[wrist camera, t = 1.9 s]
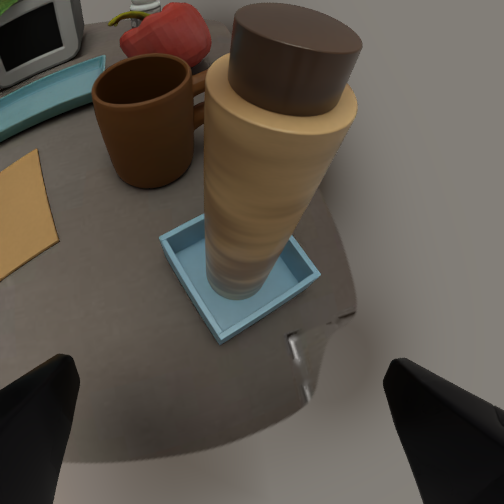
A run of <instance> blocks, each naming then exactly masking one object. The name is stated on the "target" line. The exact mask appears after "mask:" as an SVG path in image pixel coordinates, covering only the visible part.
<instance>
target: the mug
mask: <svg viewBox="0 0 504 504" xmlns="http://www.w3.org/2000/svg"><path fill="white" fill-rule="evenodd" d="M207 71H208V70H205V71H203V72H200V73H198V74H196V75H192V72H191V68H190V66H189V65H188V64H187V63H186V62H185V61H184V60H183V59H181V58H179V57H177V56H174V55H170V54H163V53H150V54H142V55H137V56H133V57H130V58H127V59H124V60H122V61H119V62H117V63H115V64H114V65H112V66H110V67H109V68H107V69H106V70H105V71H103V72H102V73H101V74H100V75H99V76H98V77H97V79H96V80H95V82H94V84H93V86H92V91H91V95H92V100H93V105H94V110H95V115H96V118H97V121H98V124H99V127H100V130H101V133H102V136H103V139H104V142H105V145H106V148H107V150H108V153H109V155H110V158H111V161H112V163H113V166H114V168H115V170H116V172H117V174H118V175H119V176H120V178H121V179H122V180H123V181H125V182H126V183H128V184H130V185H132V186H135V187H140V188H156V187H160V186H164V185H166V184H169V183H171V182H173V181H174V180H176V179H177V178H179V177H180V176H181V175H182V174H183V173H184V172H185V171H186V170H187V168H188V167H189V165H190V163H191V161H192V158H193V153H194V130H195V129H197V128H198V127H199V126H201V125H202V124H204V106H205V101H204V102H201V103H199V104H197V105H195V106H194V103H193V98H194V97H195V96H196V95H198V94H200V93H203V92H205V78H206V74H207Z"/></svg>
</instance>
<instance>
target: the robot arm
mask: <svg viewBox="0 0 504 504" xmlns="http://www.w3.org/2000/svg"><path fill="white" fill-rule="evenodd" d="M79 387H80V378H79V374H78V372H77V369H76V366H75V363H74V360H73V358H72V357H71V356H70V355H65V354H57V355H55V356H53V357H52V358H50V359H49V360H47V361H45V362H44V363H42V364H41V365H39V366H38V367H36V368H34V369H33V370H31V371H30V372H28V373H26V374H25V375H23V376H22V377H20V378H19V379H17V380H15V381H14V382H12V383H11V384H9V385H7V386H6V387H4V388H3V389H1V390H0V504H53V500H54V495H55V490H56V486H57V481H58V477H59V473H60V468H61V464H62V460H63V457H64V453H65V449H66V445H67V442H68V438H69V435H70V431H71V427H72V422H73V416H74V411H75V406H76V401H77V396H78V391H79ZM383 387H384V391H385V394H386V397H387V400H388V404H389V408H390V411H391V415H392V418H393V422H394V425H395V427H396V430H397V433H398V436H399V438H400V441H401V443H402V446H403V448H404V451H405V454H406V456H407V459H408V461H409V464H410V467H411V469H412V472H413V475H414V478H415V481H416V483H417V486H418V489H419V492H420V495H421V498H422V500H423V504H504V410H502V409H500V408H498V407H496V406H493V405H492V404H491V403H489V402H487V401H485V400H483V399H481V398H479V397H477V396H475V395H473V394H472V393H470V392H468V391H466V390H464V389H462V388H460V387H458V386H457V385H455V384H453V383H451V382H449V381H447V380H445V379H443V378H442V377H440V376H438V375H436V374H434V373H432V372H430V371H429V370H427V369H425V368H423V367H421V366H419V365H418V364H416V363H414V362H412V361H410V360H408V359H407V358H398V359H394V360H392V361H391V363H390V365H389V368H388V370H387V372H386V375H385V377H384V379H383Z"/></svg>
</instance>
